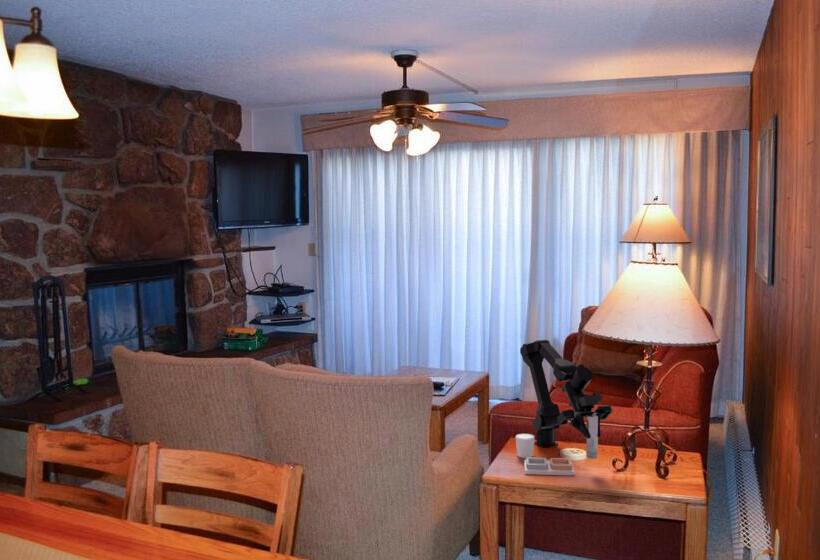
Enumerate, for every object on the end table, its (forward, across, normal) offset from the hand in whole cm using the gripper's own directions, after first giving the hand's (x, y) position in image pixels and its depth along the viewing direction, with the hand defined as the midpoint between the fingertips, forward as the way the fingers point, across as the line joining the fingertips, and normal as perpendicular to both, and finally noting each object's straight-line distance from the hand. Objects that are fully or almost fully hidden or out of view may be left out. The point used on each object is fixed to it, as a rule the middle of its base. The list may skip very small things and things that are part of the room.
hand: (594, 437), depth 243 cm
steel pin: (+4, 0, +6) cm, 7 cm away
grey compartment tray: (+2, -12, +15) cm, 19 cm away
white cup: (-8, -13, +26) cm, 30 cm away
